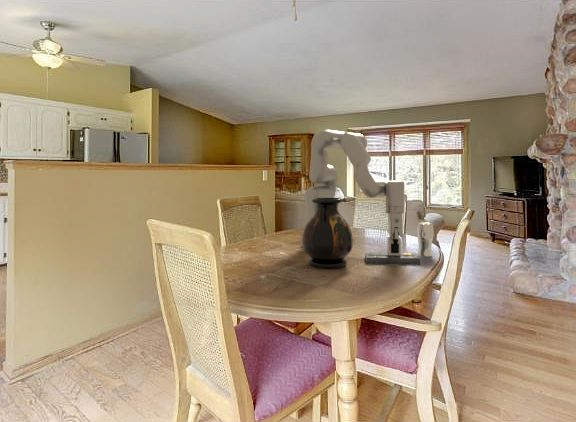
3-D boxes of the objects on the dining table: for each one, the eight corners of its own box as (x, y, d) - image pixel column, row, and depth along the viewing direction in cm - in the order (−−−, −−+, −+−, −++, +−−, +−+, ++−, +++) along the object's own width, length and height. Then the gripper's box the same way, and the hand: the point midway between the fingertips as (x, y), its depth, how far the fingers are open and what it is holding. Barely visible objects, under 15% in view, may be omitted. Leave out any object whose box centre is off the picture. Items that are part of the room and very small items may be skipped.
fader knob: (388, 255, 151) (388, 239, 150) (387, 253, 155) (387, 237, 154) (400, 255, 150) (400, 239, 149) (399, 253, 154) (399, 237, 153)
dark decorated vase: (348, 273, 136) (348, 201, 132) (295, 269, 143) (294, 200, 140) (357, 260, 156) (357, 196, 153) (310, 256, 163) (309, 196, 160)
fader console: (366, 263, 150) (366, 257, 150) (364, 258, 159) (364, 252, 159) (420, 264, 147) (420, 258, 147) (415, 258, 156) (415, 253, 156)
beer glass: (434, 257, 157) (435, 224, 156) (417, 257, 159) (418, 224, 157) (431, 253, 164) (432, 222, 162) (415, 253, 166) (416, 221, 164)
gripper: (407, 212, 141) (406, 256, 144) (400, 207, 158) (399, 247, 160) (388, 212, 143) (387, 256, 145) (383, 207, 159) (382, 247, 161)
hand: (393, 251), depth 152 cm, fingers closed on fader knob, 4 cm apart
